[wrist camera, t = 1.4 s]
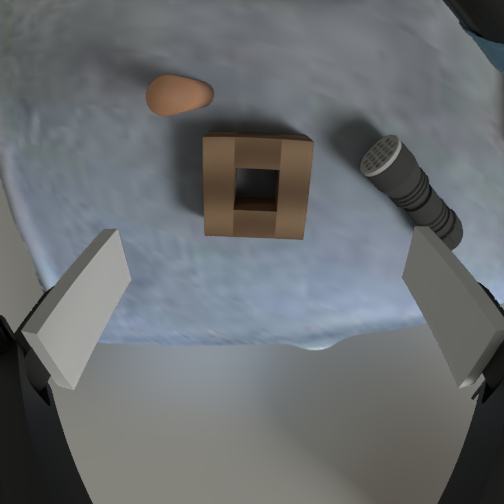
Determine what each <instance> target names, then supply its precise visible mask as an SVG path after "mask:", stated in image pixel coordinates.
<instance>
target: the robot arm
mask: <svg viewBox="0 0 504 504" xmlns="http://www.w3.org/2000/svg"><path fill="white" fill-rule="evenodd" d="M443 1H444V3H445V4H446V5H447V6H448V7H449V9H450V10H451V11H452V12H453V13H454V15H455V16H456V17H457V18H458V20H459V24H460V25H461V27H462V28H463V30H464V31H465V32H466V33H467V34H469V35H470V36H471V37H472V38H473V39H474V41H475V42H476V43H477V45H478V46H479V47H480V49H481V50H482V51H483V53H484V54H485V56H486V57H487V58H488V60H489V61H490V62H491V64H492V65H493V66H494V67H495V68H496V69H497V70H499V71H500V72H501V73H502V74H504V0H443ZM402 278H403V280H404V282H405V284H406V285H407V287H408V289H409V290H410V292H411V294H412V296H413V297H414V299H415V301H416V303H417V305H418V306H419V308H420V310H421V312H422V314H423V316H424V317H425V319H426V321H427V323H428V325H429V327H430V329H431V330H432V333H433V335H434V337H435V338H436V341H437V343H438V345H439V347H440V349H441V351H442V353H443V355H444V357H445V359H446V361H447V363H448V366H449V368H450V370H451V372H452V374H453V376H454V379H455V381H456V383H457V386H458V388H461V387H465V386H468V385H472V384H474V383H475V382H476V380H477V379H478V378H479V376H480V375H481V374H482V373H483V375H484V377H485V380H484V382H483V383H482V385H481V386H480V387H479V388H478V389H477V391H476V392H475V393H474V394H473V396H472V398H471V399H474V398H475V397H476V396H477V395H478V394H479V396H478V400H477V404H476V408H475V411H474V415H473V417H472V421H471V424H470V427H469V430H468V433H467V436H466V439H465V442H464V445H463V448H462V450H461V453H460V455H459V458H458V461H457V463H456V465H455V468H454V470H453V472H452V475H451V477H450V479H449V481H448V483H447V486H446V488H445V490H444V492H443V494H442V496H441V498H440V500H439V502H438V504H504V310H503V308H502V307H500V304H499V303H498V302H497V300H495V298H494V296H493V295H492V294H491V292H490V291H489V290H488V289H487V288H486V287H484V286H483V285H482V284H481V283H479V282H477V281H476V280H475V279H474V277H473V276H472V275H471V274H470V272H469V271H468V270H467V269H466V268H465V266H464V265H463V264H462V263H461V262H460V261H459V259H458V258H457V257H456V256H455V255H454V254H453V253H452V251H451V250H450V249H449V248H448V247H447V246H446V245H445V244H444V243H443V241H442V240H441V239H440V238H439V237H438V236H437V235H436V234H435V233H434V232H433V231H432V230H431V229H430V228H429V227H426V226H415V227H414V232H413V236H412V241H411V245H410V249H409V253H408V257H407V261H406V265H405V268H404V272H403V276H402ZM130 281H131V277H130V274H129V270H128V266H127V263H126V259H125V256H124V252H123V248H122V244H121V240H120V236H119V232H118V229H103V231H102V232H101V233H100V234H99V235H98V236H97V237H96V238H95V239H94V240H93V241H92V242H91V244H90V245H89V246H88V247H87V248H86V249H85V250H84V251H83V253H82V254H81V255H80V256H79V257H78V258H77V259H76V261H75V262H74V263H73V264H72V265H71V267H70V268H69V269H68V270H67V271H66V272H65V274H64V275H63V276H62V277H61V279H60V280H59V281H58V282H57V283H56V285H55V286H53V287H52V288H51V289H49V290H48V291H47V292H45V293H44V294H43V296H42V297H41V298H40V299H39V301H38V304H36V305H35V306H34V307H33V309H32V311H30V313H29V314H28V316H27V317H26V318H25V319H24V321H23V322H22V324H21V325H20V327H19V328H18V329H17V331H16V332H15V333H13V331H12V330H11V328H10V326H9V324H8V323H7V321H6V319H5V318H4V317H3V316H2V315H0V504H93V503H92V501H91V499H90V497H89V495H88V493H87V490H86V488H85V486H84V484H83V482H82V480H81V477H80V475H79V472H78V470H77V467H76V465H75V462H74V460H73V457H72V455H71V452H70V449H69V447H68V444H67V441H66V438H65V435H64V432H63V429H62V425H61V422H60V419H59V416H58V412H57V409H56V405H55V401H54V397H53V393H52V390H51V387H50V385H49V384H48V380H49V378H50V376H51V377H52V378H53V380H54V381H55V382H56V384H57V385H58V386H61V387H64V388H68V389H72V390H74V389H75V387H76V385H77V383H78V381H79V378H80V376H81V374H82V372H83V370H84V368H85V366H86V364H87V361H88V359H89V357H90V355H91V353H92V351H93V349H94V347H95V345H96V343H97V341H98V339H99V338H100V336H101V334H102V332H103V330H104V328H105V326H106V324H107V322H108V320H109V318H110V317H111V315H112V313H113V311H114V309H115V307H116V306H117V304H118V302H119V300H120V298H121V297H122V295H123V293H124V291H125V290H126V288H127V286H128V284H129V283H130Z"/></svg>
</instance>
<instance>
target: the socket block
mask: <svg viewBox="0 0 504 504" xmlns="http://www.w3.org/2000/svg"><path fill="white" fill-rule="evenodd" d="M313 146H314V142H313V141H312V140H311V139H310V138H309V137H308V136H301V135H289V134H274V133H254V132H208V133H207V134H206V135H205V136H203V200H204V232H205V236H227V237H252V238H275V239H297V240H303V237H304V229H305V221H306V213H307V204H308V195H309V186H310V177H311V167H312V157H313ZM237 168H252V169H273V170H277V173H276V188H275V198H263V197H238V196H236V179H237Z"/></svg>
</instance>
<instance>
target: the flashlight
mask: <svg viewBox="0 0 504 504" xmlns="http://www.w3.org/2000/svg"><path fill="white" fill-rule="evenodd" d="M360 171H361V172H362V173H363V174H364V175H365V176H366V177H367V178H368V179H369V180H370V181H371V182H372V183H373V184H374V185H375V186H376V187H377V188H378V189H379V190H380V191H381V192H383V193H385V194H386V195H388V196H389V197H390V199H391V200H392V201H393V202H394V203H395V204H396V205H397V206H398V207H401V208H404V209H405V210H406V212H407V213H408V214H409V215H410V216H411V217H412V218H413V220H414V221H415V224H416V225H417V226H426V227H429V228H430V229H431V230H432V231H433V232H434V233H435V234H436V235H437V236H438V237H439V238H440V239H441V240H442V241H443V243H444V244H445V245H446V246H447V247H448V248H449V249H450V250H451V251H452V250H453V249H455V248H456V247H457V246H458V245H459V243H460V242H461V240H462V237H463V229H462V224H461V221H460V220H459V218H458V217H457V215H456V214H455V212H454V211H453V210H452V209H449V207H448V206H447V205H446V204H445V202H444V201H443V200H442V199H441V198H440V197H439V196H438V195H437V193H436V192H435V191H434V189H433V188H432V187H431V186H430V184H429V179H428V176H427V175H426V174H425V172H424V171H423V170H422V169H421V168H420V167H419V166H418V163H417V161H416V159H415V157H414V156H413V154H412V153H411V152H410V151H409V150H408V149H407V147H406V146H405V145H404V144H403V143H402V142H401V141H400V139H399V138H398V137H397V136H395V135H389V136H386V137H384V138H382V139H380V140H379V141H377V142H376V143H375V144H374V145H373V146H372V147H371V148H370V150H369V151H368V152H367V153H366V154H365V155H364V157H363V159H362V161H361V163H360Z"/></svg>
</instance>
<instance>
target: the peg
mask: <svg viewBox="0 0 504 504" xmlns="http://www.w3.org/2000/svg"><path fill="white" fill-rule="evenodd" d="M213 97H214V91H213V88H212V87H211V85H209V84H208V83H206V82H202V81H198V80H194V79H189V78H184V77H179V76H174V75H162V76H160V77H158V78H156V79H155V80H153V81H152V82H151V84H150V85H149V87H148V89H147V92H146V102H147V105H148V107H149V108H150V110H151V111H153V112H154V113H155V114H157V115H160V116H170V115H174V114H177V113H181V112H185V111H189V110H193V109H197V108H201V107H205V106H207V105H209V104H210V103H211V102H212V100H213Z"/></svg>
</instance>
